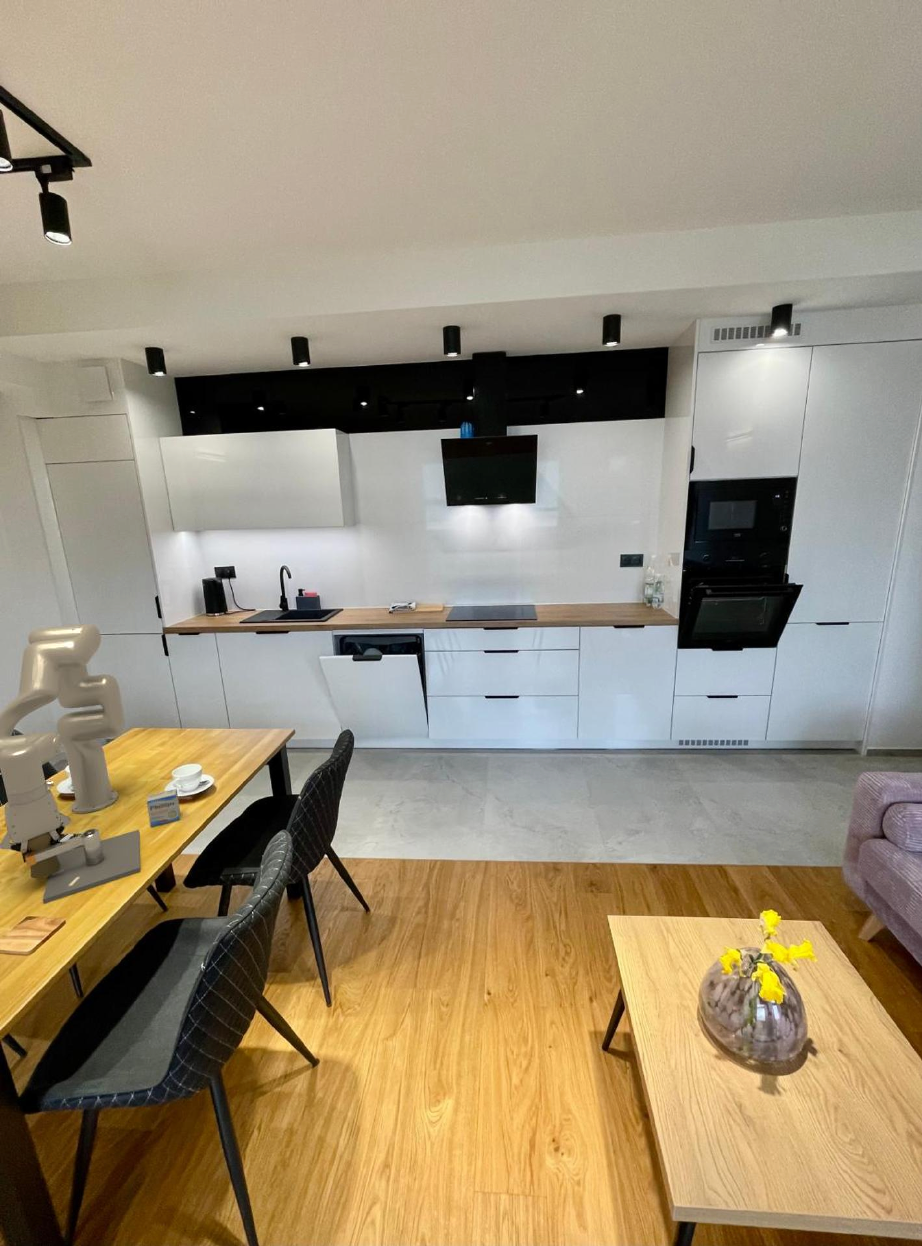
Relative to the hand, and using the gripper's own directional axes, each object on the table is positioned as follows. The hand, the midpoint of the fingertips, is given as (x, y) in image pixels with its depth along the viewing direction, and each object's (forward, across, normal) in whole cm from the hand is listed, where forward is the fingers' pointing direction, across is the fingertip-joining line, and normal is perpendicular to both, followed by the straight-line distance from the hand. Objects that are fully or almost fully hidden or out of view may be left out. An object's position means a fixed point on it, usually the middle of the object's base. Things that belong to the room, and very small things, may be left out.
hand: (42, 857), depth 131 cm
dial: (+5, -4, +3) cm, 7 cm away
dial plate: (+6, -10, +4) cm, 12 cm away
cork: (+4, 0, 0) cm, 4 cm away
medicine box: (+7, -30, -4) cm, 31 cm away
